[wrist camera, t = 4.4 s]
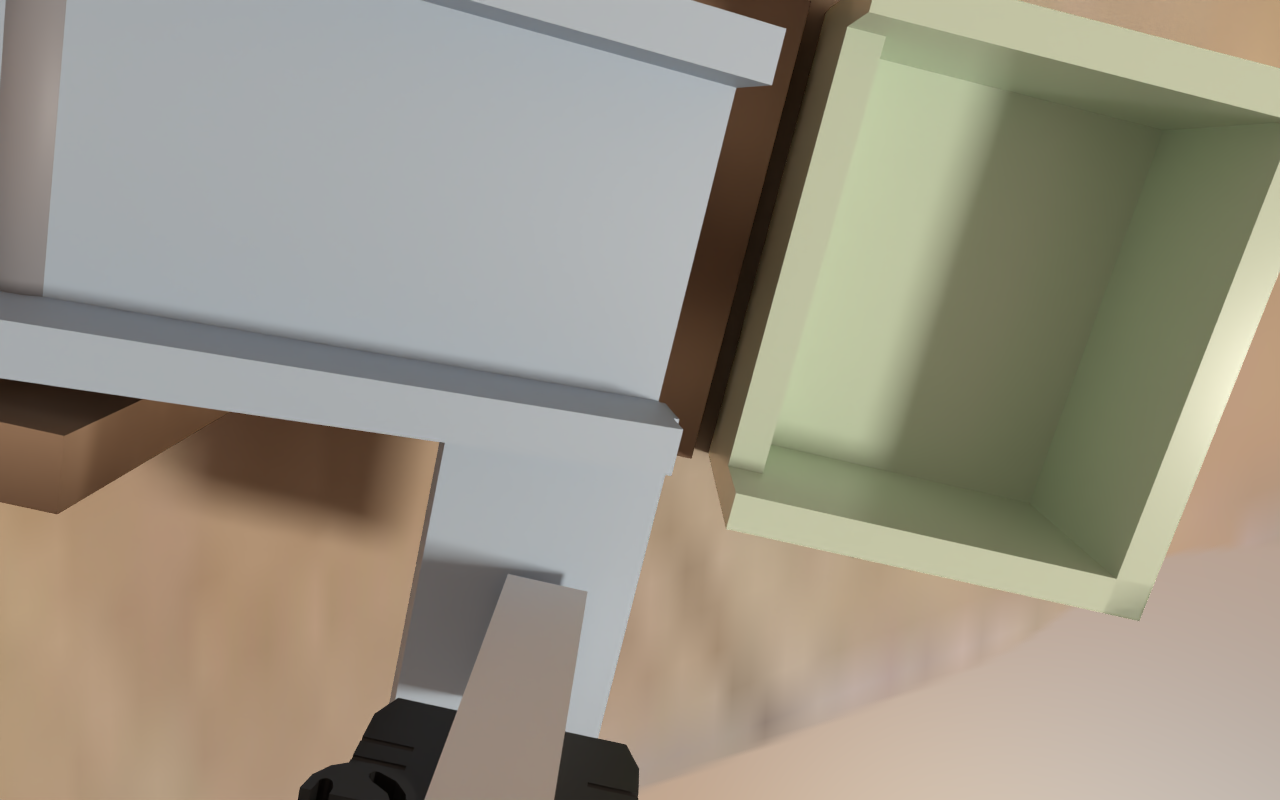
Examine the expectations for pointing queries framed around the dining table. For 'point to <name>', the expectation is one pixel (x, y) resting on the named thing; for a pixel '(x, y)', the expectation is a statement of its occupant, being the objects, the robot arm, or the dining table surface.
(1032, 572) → the dish
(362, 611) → the dining table surface
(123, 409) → the stand
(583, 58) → the lever
